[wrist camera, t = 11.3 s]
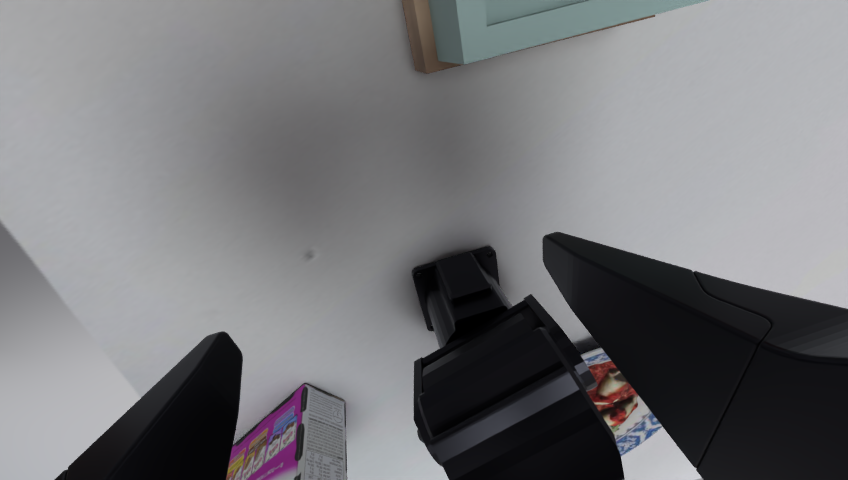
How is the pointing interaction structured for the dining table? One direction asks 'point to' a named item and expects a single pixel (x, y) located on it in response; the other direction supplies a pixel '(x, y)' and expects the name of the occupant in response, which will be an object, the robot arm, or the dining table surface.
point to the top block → (526, 23)
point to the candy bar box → (295, 441)
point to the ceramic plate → (619, 403)
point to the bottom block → (425, 42)
